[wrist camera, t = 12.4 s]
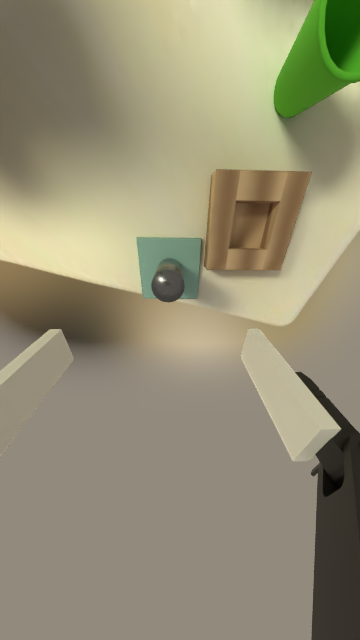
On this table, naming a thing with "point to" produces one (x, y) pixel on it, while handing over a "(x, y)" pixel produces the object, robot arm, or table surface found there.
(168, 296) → the gray metal can
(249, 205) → the socket block
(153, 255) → the mat
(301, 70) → the cup
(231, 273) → the table surface
